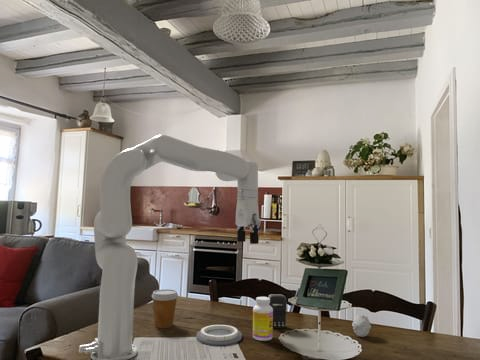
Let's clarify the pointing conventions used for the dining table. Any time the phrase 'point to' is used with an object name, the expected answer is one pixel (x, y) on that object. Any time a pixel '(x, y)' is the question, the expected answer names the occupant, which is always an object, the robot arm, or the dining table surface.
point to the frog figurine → (361, 325)
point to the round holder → (219, 335)
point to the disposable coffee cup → (164, 307)
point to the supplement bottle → (262, 319)
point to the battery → (278, 310)
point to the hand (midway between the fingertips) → (247, 242)
